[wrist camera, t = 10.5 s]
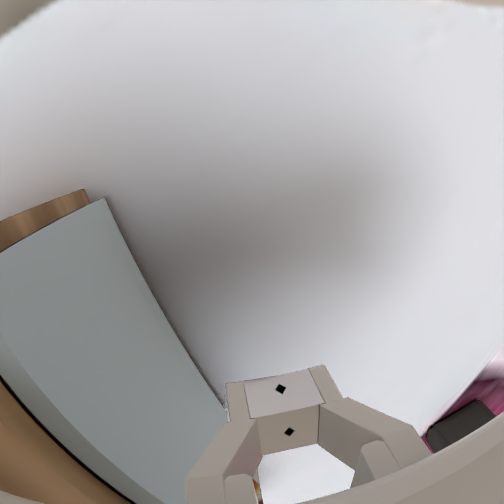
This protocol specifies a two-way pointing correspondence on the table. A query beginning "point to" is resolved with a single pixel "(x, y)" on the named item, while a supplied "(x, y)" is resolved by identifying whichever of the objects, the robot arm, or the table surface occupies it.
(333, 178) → the table surface
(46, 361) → the door
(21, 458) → the cabinet
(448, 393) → the table surface
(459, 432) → the card reader
